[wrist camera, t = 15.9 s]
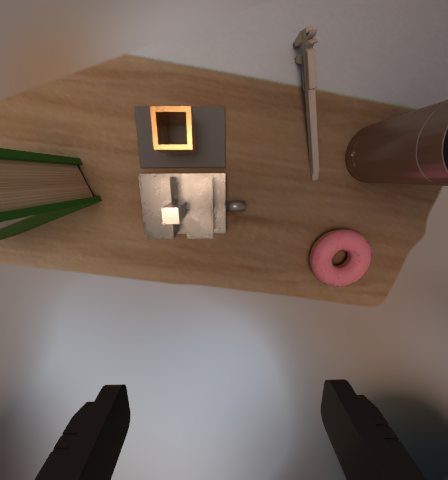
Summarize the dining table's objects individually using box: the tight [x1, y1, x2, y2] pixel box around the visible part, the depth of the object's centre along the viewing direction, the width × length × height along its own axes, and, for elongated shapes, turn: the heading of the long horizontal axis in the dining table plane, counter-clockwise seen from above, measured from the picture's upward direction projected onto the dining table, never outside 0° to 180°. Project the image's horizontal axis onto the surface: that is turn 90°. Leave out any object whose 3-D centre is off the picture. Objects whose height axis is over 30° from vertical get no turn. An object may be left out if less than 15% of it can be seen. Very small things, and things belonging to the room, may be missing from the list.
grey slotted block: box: [138, 173, 246, 239], centre depth 33 cm, size 17×10×13 cm, turn 90°
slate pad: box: [134, 107, 225, 168], centre depth 37 cm, size 14×9×1 cm, turn 90°
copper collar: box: [150, 106, 198, 155], centre depth 32 cm, size 5×5×8 cm
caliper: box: [293, 26, 319, 181], centre depth 34 cm, size 20×1×6 cm, turn 14°
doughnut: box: [310, 229, 372, 287], centre depth 41 cm, size 11×11×4 cm
